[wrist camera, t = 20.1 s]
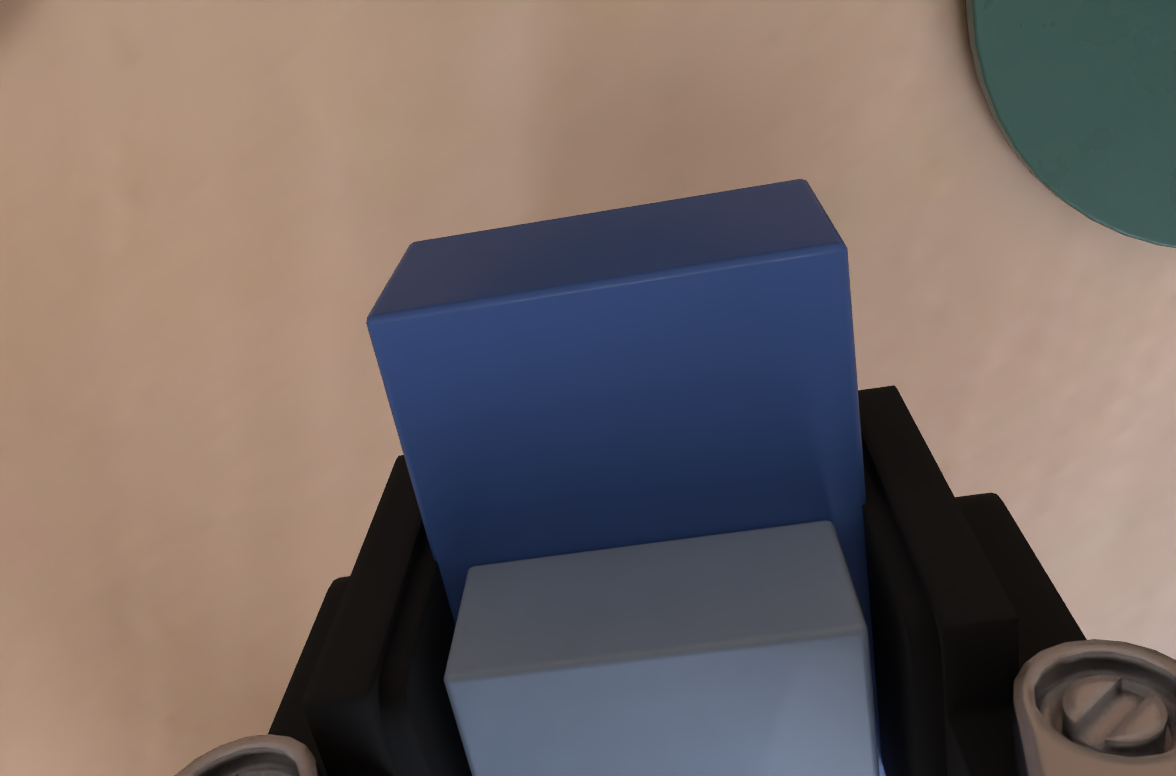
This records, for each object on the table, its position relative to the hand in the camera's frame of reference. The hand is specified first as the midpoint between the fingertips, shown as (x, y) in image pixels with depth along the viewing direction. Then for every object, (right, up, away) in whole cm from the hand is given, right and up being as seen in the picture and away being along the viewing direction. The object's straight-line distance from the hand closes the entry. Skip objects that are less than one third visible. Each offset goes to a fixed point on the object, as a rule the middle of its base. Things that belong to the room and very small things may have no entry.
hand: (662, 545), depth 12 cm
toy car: (0, 0, +1) cm, 1 cm away
